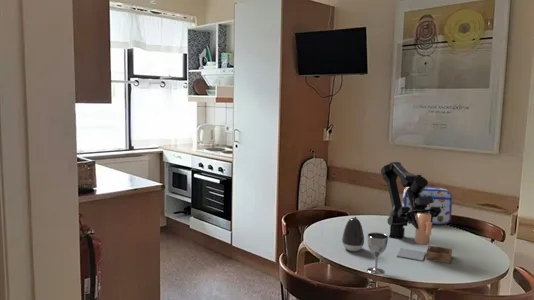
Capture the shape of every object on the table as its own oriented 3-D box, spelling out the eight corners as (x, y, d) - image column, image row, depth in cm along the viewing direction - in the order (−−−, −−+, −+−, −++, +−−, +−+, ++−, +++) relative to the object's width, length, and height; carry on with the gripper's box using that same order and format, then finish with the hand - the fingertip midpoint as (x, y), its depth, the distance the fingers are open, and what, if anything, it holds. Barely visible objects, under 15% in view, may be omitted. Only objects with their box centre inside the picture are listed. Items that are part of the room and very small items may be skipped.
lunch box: (400, 223, 241) (403, 185, 238) (398, 218, 251) (401, 182, 248) (451, 226, 235) (454, 188, 233) (447, 221, 245) (450, 184, 243)
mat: (396, 256, 188) (396, 255, 188) (400, 249, 198) (400, 248, 197) (422, 261, 183) (422, 260, 183) (425, 253, 193) (425, 252, 193)
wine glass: (363, 267, 175) (365, 232, 174) (381, 266, 176) (383, 232, 174) (369, 275, 167) (371, 238, 166) (388, 274, 168) (391, 238, 166)
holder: (426, 259, 186) (426, 251, 185) (428, 252, 195) (428, 244, 194) (450, 263, 181) (451, 255, 181) (451, 256, 190) (452, 248, 190)
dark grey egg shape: (365, 247, 199) (366, 216, 198) (362, 254, 190) (364, 222, 188) (343, 244, 203) (344, 213, 201) (340, 251, 193) (341, 219, 191)
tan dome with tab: (412, 239, 191) (414, 212, 189) (425, 239, 192) (427, 212, 190) (421, 246, 182) (423, 217, 181) (434, 246, 183) (436, 217, 181)
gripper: (401, 189, 188) (410, 220, 179) (441, 189, 190) (452, 220, 181) (393, 201, 197) (401, 232, 188) (431, 201, 199) (441, 231, 189)
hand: (424, 228), depth 186 cm, fingers closed on tan dome with tab, 6 cm apart
